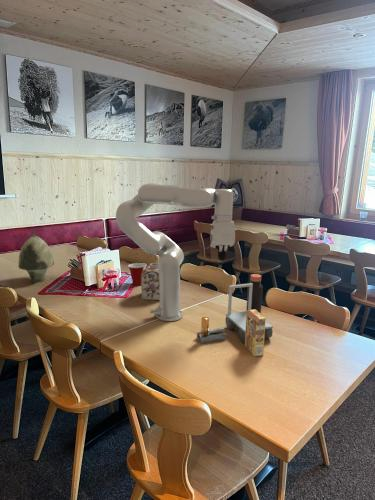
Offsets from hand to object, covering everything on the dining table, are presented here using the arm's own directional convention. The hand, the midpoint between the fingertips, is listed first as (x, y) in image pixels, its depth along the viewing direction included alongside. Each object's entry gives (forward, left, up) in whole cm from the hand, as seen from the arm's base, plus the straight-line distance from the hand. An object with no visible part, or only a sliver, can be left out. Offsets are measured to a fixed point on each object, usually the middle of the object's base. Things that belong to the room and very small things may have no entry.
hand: (221, 259), depth 162 cm
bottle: (+18, 0, -29) cm, 34 cm away
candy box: (+1, -29, -29) cm, 41 cm away
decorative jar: (-20, +39, -29) cm, 53 cm away
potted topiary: (-79, +86, -29) cm, 120 cm away
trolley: (+6, -15, -29) cm, 33 cm away
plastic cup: (-24, +61, -29) cm, 72 cm away
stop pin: (-10, -15, -28) cm, 33 cm away
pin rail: (-10, -15, -29) cm, 34 cm away
